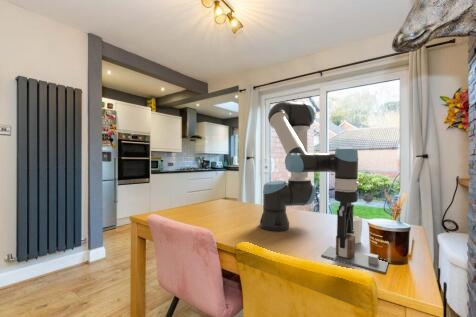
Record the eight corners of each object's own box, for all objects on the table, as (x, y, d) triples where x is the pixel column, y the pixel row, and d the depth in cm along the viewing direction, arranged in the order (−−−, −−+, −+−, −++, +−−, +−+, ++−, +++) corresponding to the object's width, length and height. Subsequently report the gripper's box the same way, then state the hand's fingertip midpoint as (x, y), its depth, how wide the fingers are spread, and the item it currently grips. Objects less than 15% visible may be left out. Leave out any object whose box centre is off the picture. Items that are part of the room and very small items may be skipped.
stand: (321, 256, 86) (321, 248, 86) (329, 247, 94) (329, 240, 94) (385, 273, 73) (385, 264, 73) (388, 262, 81) (389, 253, 81)
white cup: (361, 245, 96) (361, 221, 96) (340, 241, 100) (340, 218, 100) (362, 239, 103) (363, 217, 103) (343, 236, 107) (343, 214, 107)
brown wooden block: (335, 254, 85) (336, 236, 85) (339, 250, 89) (340, 232, 89) (351, 258, 82) (351, 240, 82) (354, 253, 86) (355, 235, 86)
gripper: (350, 194, 75) (350, 266, 76) (362, 188, 90) (361, 248, 90) (327, 192, 80) (326, 259, 81) (342, 186, 94) (341, 243, 95)
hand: (345, 253), depth 85 cm, fingers open, 5 cm apart
